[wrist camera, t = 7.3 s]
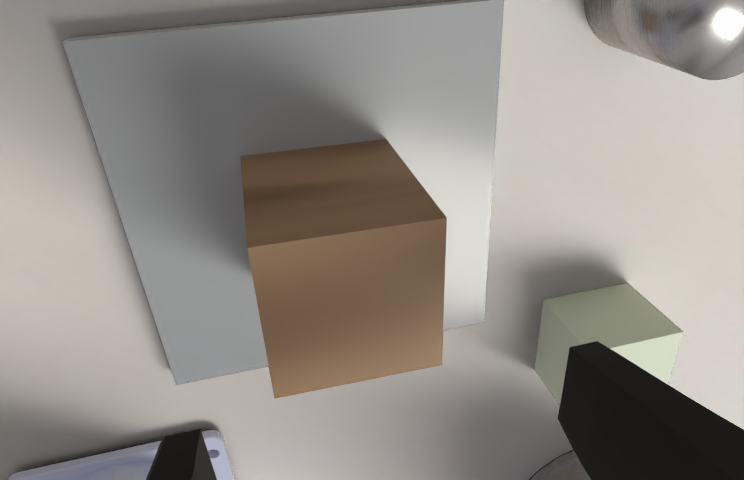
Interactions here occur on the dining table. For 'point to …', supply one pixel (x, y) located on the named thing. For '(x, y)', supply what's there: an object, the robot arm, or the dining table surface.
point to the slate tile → (284, 146)
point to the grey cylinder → (675, 32)
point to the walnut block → (343, 264)
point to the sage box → (605, 332)
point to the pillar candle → (563, 469)
